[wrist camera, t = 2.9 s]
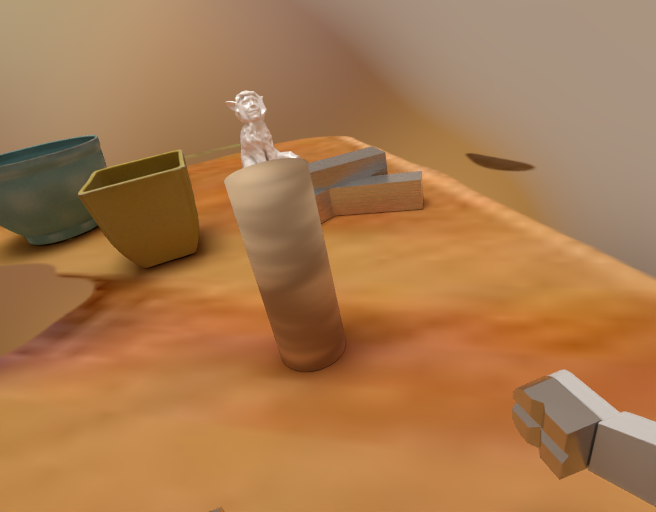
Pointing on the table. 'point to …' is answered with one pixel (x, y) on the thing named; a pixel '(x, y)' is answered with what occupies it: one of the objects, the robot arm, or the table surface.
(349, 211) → the crossed grey wooden bars
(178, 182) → the flower pot
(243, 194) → the dowel
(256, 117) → the sitting furry creature
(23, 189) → the flower pot
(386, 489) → the table surface
